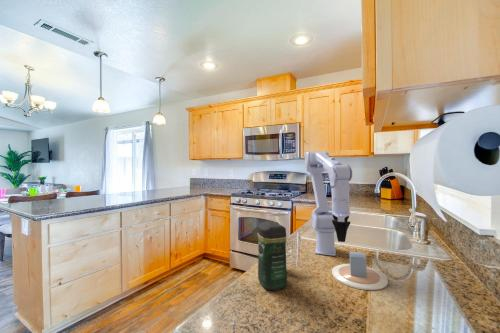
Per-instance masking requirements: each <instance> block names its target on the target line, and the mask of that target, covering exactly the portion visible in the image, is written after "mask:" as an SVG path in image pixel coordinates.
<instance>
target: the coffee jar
mask: <svg viewBox="0 0 500 333" xmlns="http://www.w3.org/2000/svg"><path fill="white" fill-rule="evenodd" d="M257 242H258V243H257V245H258V246H257V247H258V248H257V252H258V254H257V257H258V258H257V260H258V261H257V264H258V265H257V279H258V282H259V283H260V284H261V286H262V287H263V288H264V289H266V290H270V291H271V290H272V291H279V290H281V289H283V288H286V287H287V286H288V275H287V274H288V273H287V272H288V271H287V247H286V246H287V228H286V227H285V226H283V225H282V224H280V223H278V222H275V221H273V220H262V221H261V222H259V224H258V225H257Z"/></svg>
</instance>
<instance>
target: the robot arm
mask: <svg viewBox="0 0 500 333" xmlns="http://www.w3.org/2000/svg"><path fill="white" fill-rule="evenodd" d="M304 165H305V166H304V167H305V170H306V171H307V172H308V173H309V174H310V178H311V183H312V189H313V193H314V194H313V195H314V199H315V205H316V207H315V208H314V209H313V210H312V211H311V225H312V228H313V229H314V230H315V240H316V246H315V250H314V254H315V255H325V256H326V255H327V256H333V257H334V256H335V257H336V255H337V254H336V252H337V251H336V250H337V249H336V248H337V247H336V245H335V243H336V242H335V234H336V239H337V242H339V243H345V242H346V240H347V239H346V237H347V232H348V229H349V226H350V225H351V221H350V220H349V218H350V216H351V210H350V208H351V207H350V181H351V180H352V178H353V170H352V169H353V168H352V167H351V165H349V164H343V163H341V161H339V160H338V159H336V157H334V156H333V157H331V156H330V154H329V152H328V151H327V150H324V151H306V152H305V153H304ZM324 172H326V173H327V174H328V179H329V185H330V187H331V206H330V205H329V202H328V197H327V193H326V189H325V184H324V179H323V173H324ZM348 220H349V221H348Z"/></svg>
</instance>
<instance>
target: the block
mask: <svg viewBox="0 0 500 333" xmlns="http://www.w3.org/2000/svg"><path fill="white" fill-rule="evenodd" d="M349 264H350V274H351V276H358V277H365V278H367V267H368V265H367V256H366V253H365V252H359V251H349Z"/></svg>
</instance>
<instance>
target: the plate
mask: <svg viewBox="0 0 500 333" xmlns="http://www.w3.org/2000/svg"><path fill="white" fill-rule="evenodd" d="M331 274H332V276H333V278H334V279H335V280H336V281H337V282H339V283H341V284H342V285H344V286H347V287H350V288H353V289H357V290H364V291H378V290H382V289H385V288H386V287H387V286H388V283H389V280H388V277H387V276H386V275H385V274H384V273H382V272H381V271H380V270H377V269H375V268H372V267H371V266H367V278H365V277H358V276H351V274H350V263H343V264H337V265H335V266H334V267H332V270H331Z"/></svg>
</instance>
